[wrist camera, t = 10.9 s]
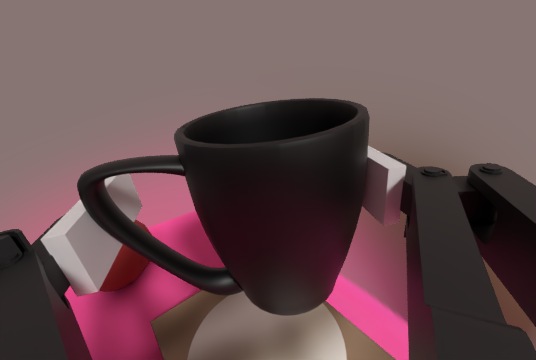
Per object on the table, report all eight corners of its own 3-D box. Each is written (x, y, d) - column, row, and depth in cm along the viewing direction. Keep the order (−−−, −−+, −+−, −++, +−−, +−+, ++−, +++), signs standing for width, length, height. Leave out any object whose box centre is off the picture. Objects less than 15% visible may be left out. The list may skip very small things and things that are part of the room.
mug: (157, 267, 17) (100, 129, 13) (318, 220, 20) (312, 92, 16) (137, 411, 10) (-6, 204, 6) (395, 307, 12) (423, 113, 8)
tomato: (121, 310, 25) (90, 255, 22) (69, 293, 28) (35, 242, 25) (173, 254, 32) (155, 206, 29) (126, 245, 35) (105, 200, 31)
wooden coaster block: (159, 340, 22) (149, 319, 21) (268, 267, 28) (265, 248, 27) (273, 647, 10) (265, 642, 9) (419, 405, 16) (427, 382, 15)
